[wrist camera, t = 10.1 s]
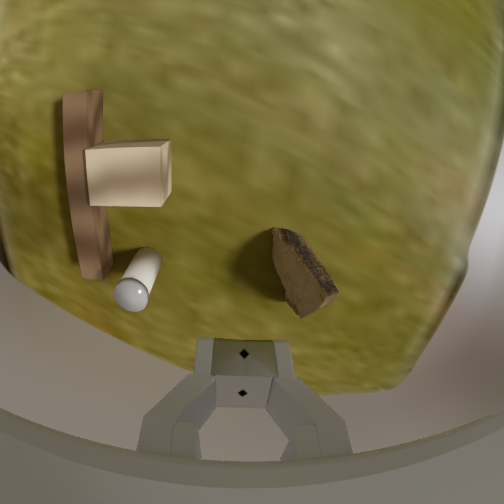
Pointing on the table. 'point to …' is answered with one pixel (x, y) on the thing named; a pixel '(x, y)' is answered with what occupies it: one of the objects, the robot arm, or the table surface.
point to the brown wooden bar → (85, 182)
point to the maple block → (129, 173)
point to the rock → (301, 273)
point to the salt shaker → (138, 280)
